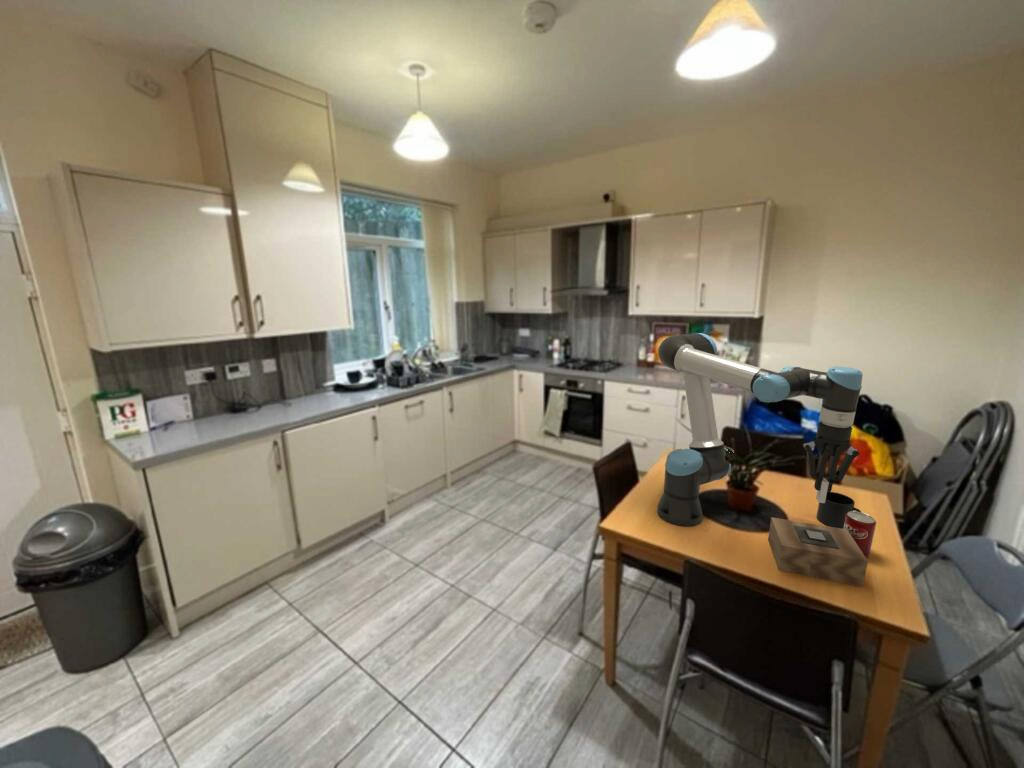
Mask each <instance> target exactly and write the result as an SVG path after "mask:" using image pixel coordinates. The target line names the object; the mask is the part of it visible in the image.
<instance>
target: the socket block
mask: <svg viewBox="0 0 1024 768" xmlns="http://www.w3.org/2000/svg"><path fill="white" fill-rule="evenodd" d="M806 530H808V531H814V532H820V533H822V534H823V535H824V537H825V539H826V542H821V541H815V540H809V539H808V538H807V536H806ZM767 541H768V544H769V546H770V550H771V552H772V556H773V558H774V561H775V564H776V567H777V570H778V571H782V572H783V571H784V572H788V573H793V574H798V575H803V576H807V577H812V578H818V579H824V580H826V581H831V582H832V581H833V582H839V583H842V584H843V583H844V584H847V585H852V586H853V585H854V586H858V587H864V586H863V585H864V583H865V577H866V572H867V569H868V568H867V567H868V563H869V560H868V559H867V557H865V556H864V554H863V553H862V551H861V550H860V548H859V547H858V545H857V544H856V542H855V541H854V539H853V538H852V536H851V535H850V533H849V532H848V530H847V529H841V528H835V527H830V526H827V525H824V524H823V525H820V524H815V523H808V522H803V521H797V520H790V519H786V518H779V517H772V516H771V518H770V523H769V530H768V538H767Z"/></svg>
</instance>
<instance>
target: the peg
mask: <svg viewBox="0 0 1024 768" xmlns="http://www.w3.org/2000/svg"><path fill="white" fill-rule="evenodd" d="M806 536H807V538H808V539H809V540H815V541H821V542H826V539H825V537H824V535H823V534H822V533H820V532H814V531H808V530H806Z"/></svg>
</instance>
